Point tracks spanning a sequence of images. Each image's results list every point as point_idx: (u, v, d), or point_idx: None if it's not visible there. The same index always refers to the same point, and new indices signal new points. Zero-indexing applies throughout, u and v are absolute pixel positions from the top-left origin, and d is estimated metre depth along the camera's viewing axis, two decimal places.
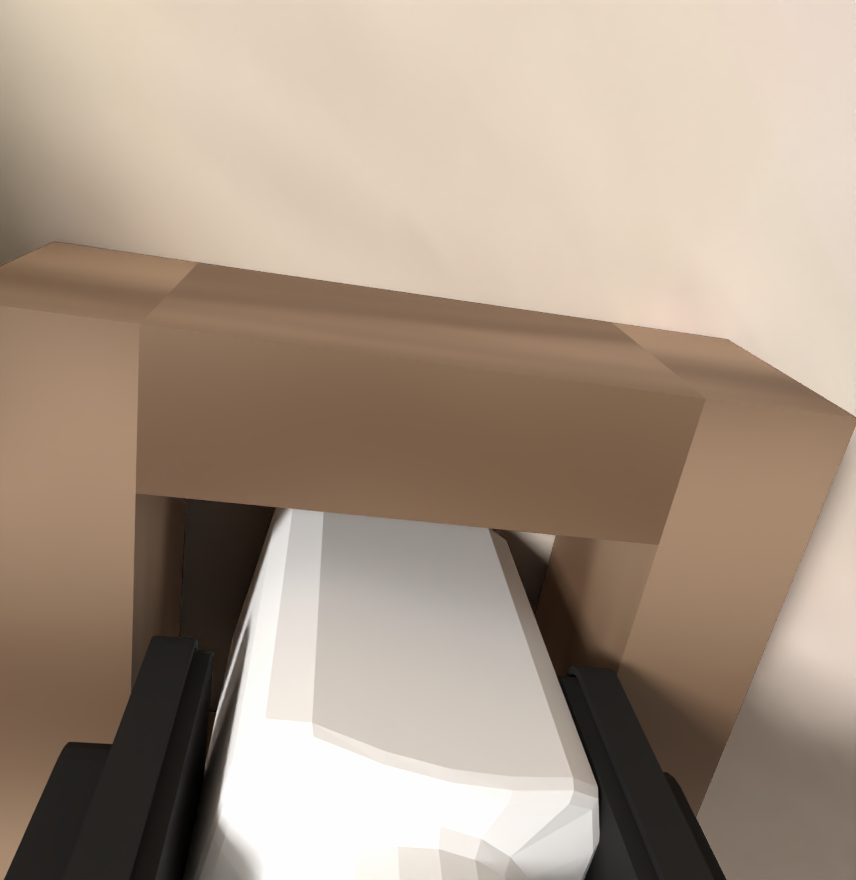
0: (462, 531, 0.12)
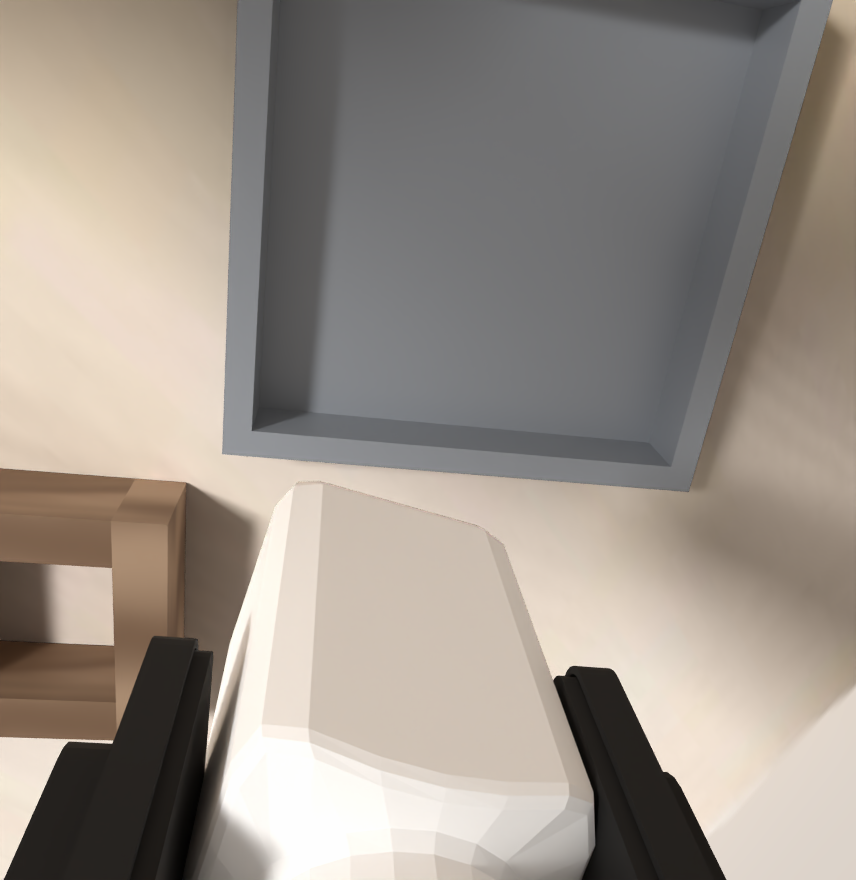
0: (459, 535, 0.12)
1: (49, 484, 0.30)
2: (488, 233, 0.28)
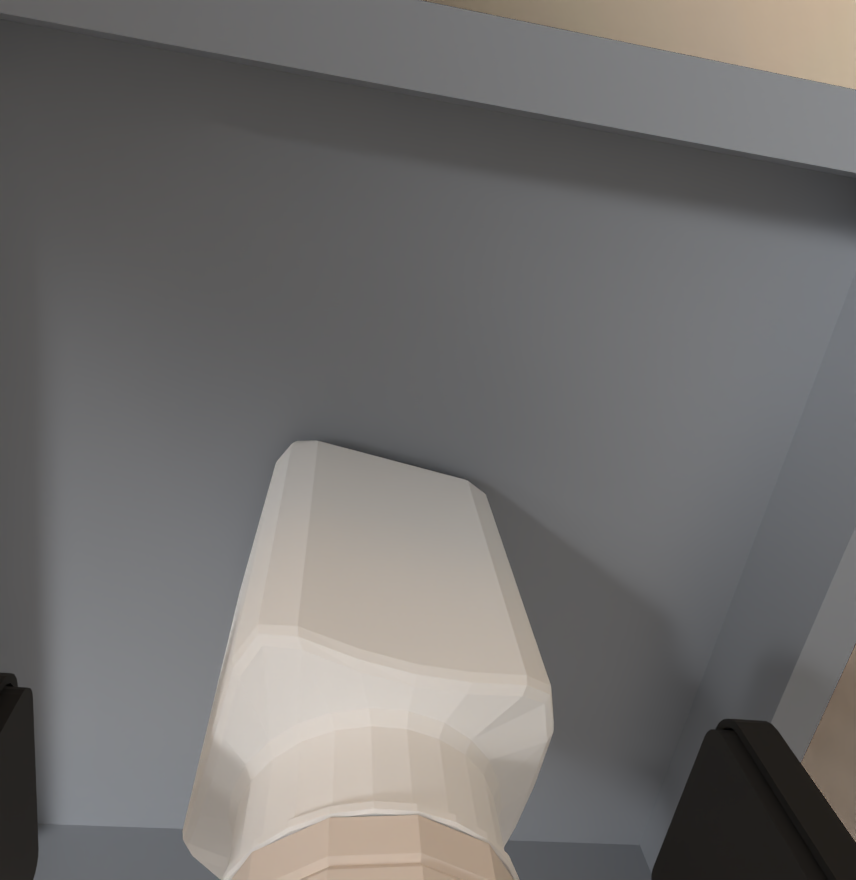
0: (443, 484, 0.13)
1: None
2: None
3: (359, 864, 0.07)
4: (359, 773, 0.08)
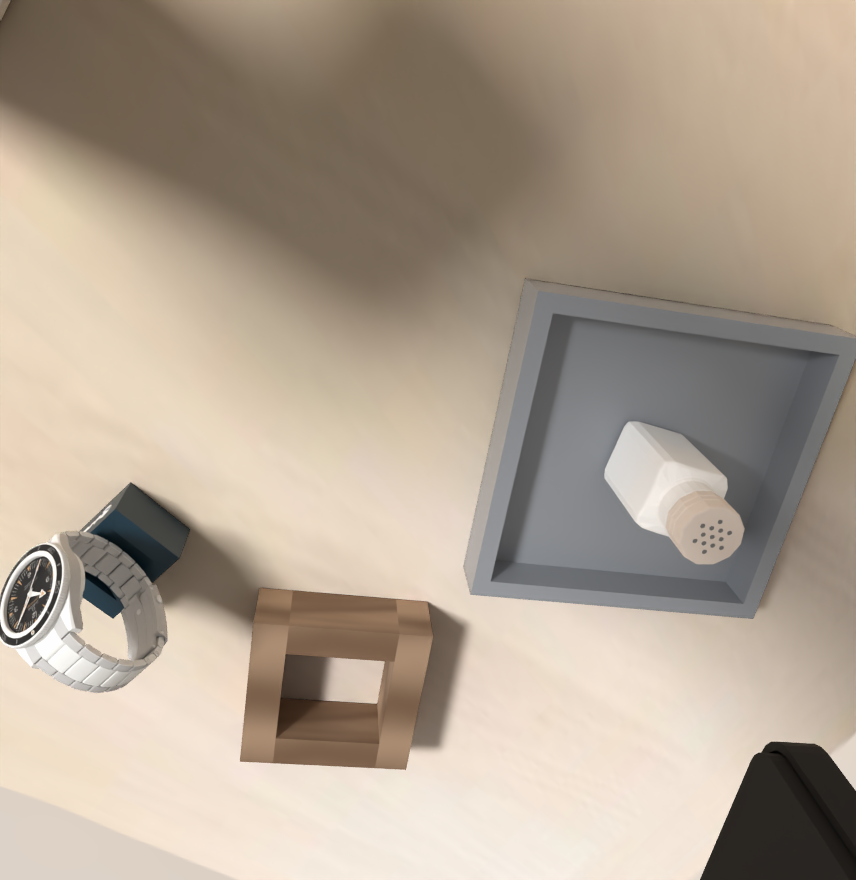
0: (676, 434, 0.43)
1: (348, 605, 0.47)
2: None
3: (704, 496, 0.37)
4: (695, 486, 0.38)
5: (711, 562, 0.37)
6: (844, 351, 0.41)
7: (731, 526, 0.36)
